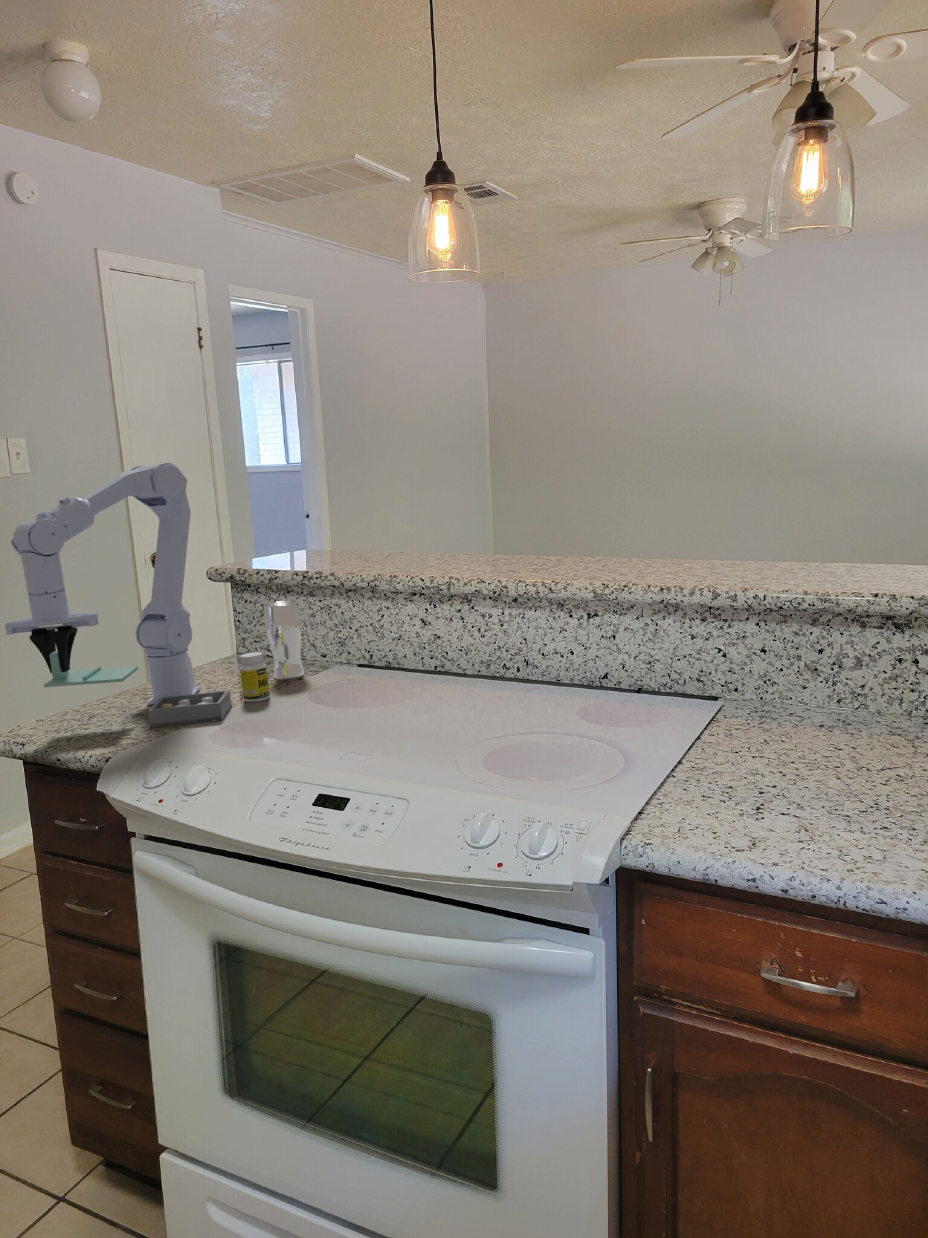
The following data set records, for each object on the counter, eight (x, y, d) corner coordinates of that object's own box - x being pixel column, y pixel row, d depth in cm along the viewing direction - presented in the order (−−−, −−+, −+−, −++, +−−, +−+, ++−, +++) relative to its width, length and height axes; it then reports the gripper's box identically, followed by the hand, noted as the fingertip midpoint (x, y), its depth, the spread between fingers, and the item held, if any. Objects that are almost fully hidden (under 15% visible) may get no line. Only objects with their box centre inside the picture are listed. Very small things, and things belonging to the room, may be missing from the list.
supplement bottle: (263, 702, 159) (257, 656, 158) (239, 703, 160) (233, 658, 159) (274, 695, 164) (268, 651, 162) (250, 696, 165) (245, 652, 163)
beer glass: (296, 670, 184) (287, 599, 181) (313, 674, 178) (304, 601, 176) (266, 677, 179) (256, 604, 177) (282, 682, 174) (272, 607, 172)
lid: (65, 674, 155) (61, 646, 154) (138, 668, 156) (134, 641, 155) (44, 687, 146) (39, 657, 145) (122, 681, 147) (118, 652, 146)
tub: (163, 713, 157) (161, 697, 157) (231, 706, 158) (229, 690, 158) (150, 727, 149) (147, 710, 148) (222, 720, 149) (219, 703, 149)
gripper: (-9, 600, 144) (6, 681, 146) (82, 591, 145) (96, 672, 147) (10, 594, 150) (23, 672, 153) (96, 585, 151) (109, 663, 154)
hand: (60, 671), depth 150 cm, fingers closed on lid
